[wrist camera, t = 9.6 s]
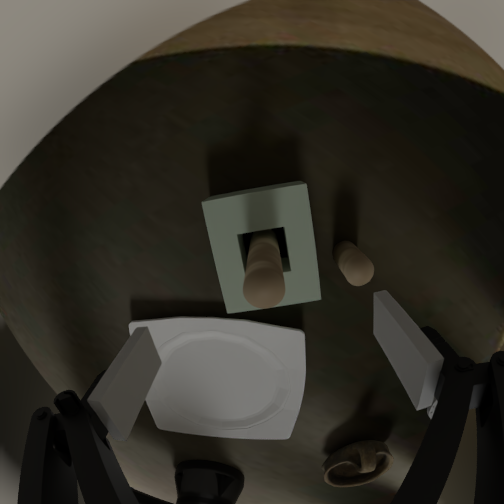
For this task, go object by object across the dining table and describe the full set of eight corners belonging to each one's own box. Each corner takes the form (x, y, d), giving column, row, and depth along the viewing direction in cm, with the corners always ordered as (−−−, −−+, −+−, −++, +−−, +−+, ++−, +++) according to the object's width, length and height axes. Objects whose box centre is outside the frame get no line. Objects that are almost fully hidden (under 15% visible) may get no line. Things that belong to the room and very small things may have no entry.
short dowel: (333, 267, 34) (346, 288, 28) (331, 242, 33) (344, 260, 27) (357, 262, 33) (374, 282, 28) (355, 238, 32) (373, 254, 27)
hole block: (231, 295, 35) (227, 313, 31) (210, 196, 32) (201, 202, 27) (314, 282, 34) (321, 299, 30) (300, 180, 31) (306, 183, 26)
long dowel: (253, 255, 33) (247, 311, 21) (248, 229, 33) (239, 273, 20) (279, 251, 33) (288, 305, 21) (275, 225, 32) (282, 266, 20)
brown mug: (318, 470, 47) (323, 507, 38) (323, 426, 42) (330, 472, 33) (379, 458, 46) (389, 493, 37) (396, 411, 41) (413, 452, 32)
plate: (127, 304, 37) (119, 313, 34) (312, 312, 36) (315, 323, 33) (157, 421, 44) (153, 431, 42) (294, 431, 43) (295, 442, 41)
